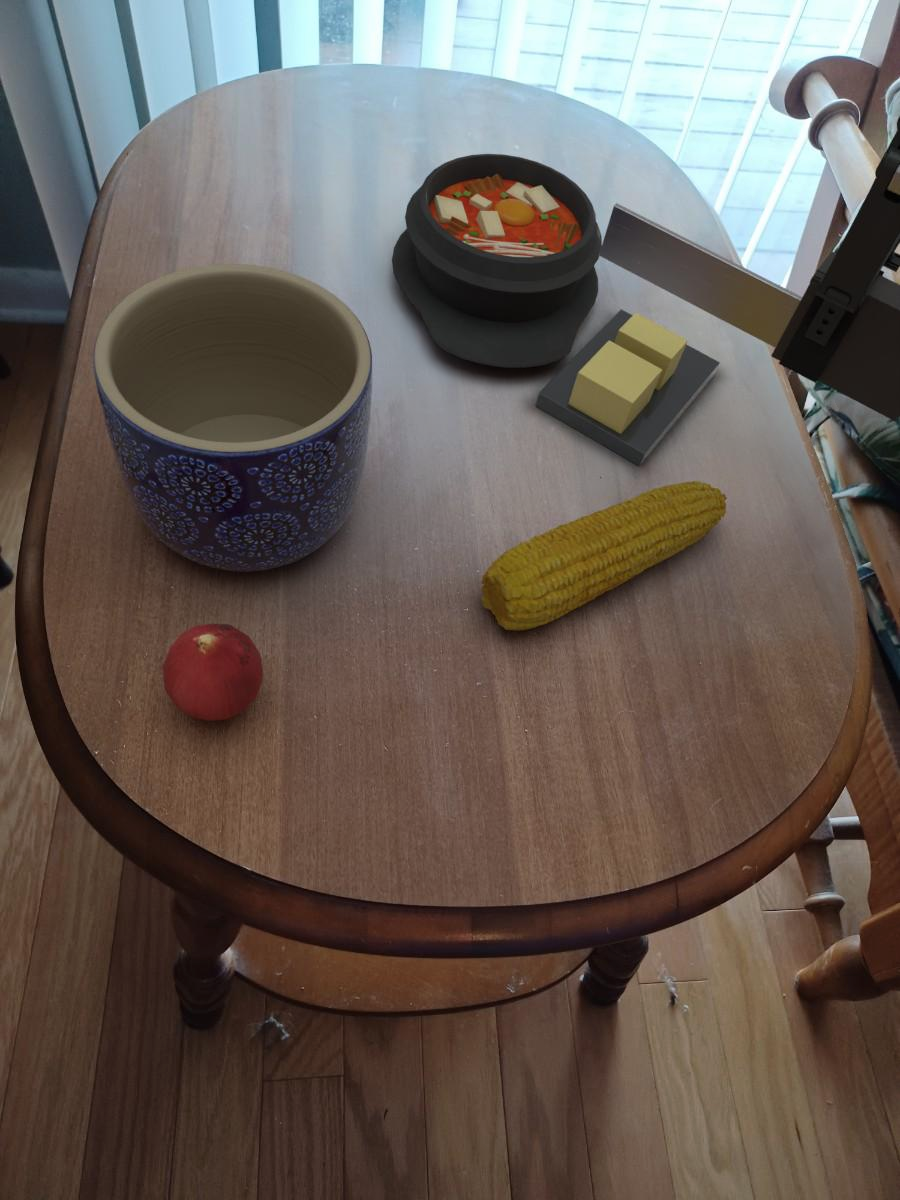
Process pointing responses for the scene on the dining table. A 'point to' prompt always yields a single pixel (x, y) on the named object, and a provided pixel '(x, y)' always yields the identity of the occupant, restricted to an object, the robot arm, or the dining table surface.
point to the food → (597, 553)
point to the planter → (237, 411)
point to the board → (652, 417)
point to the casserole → (500, 259)
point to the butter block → (614, 386)
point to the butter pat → (652, 344)
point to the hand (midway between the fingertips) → (807, 357)
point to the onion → (213, 672)
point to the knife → (766, 305)
